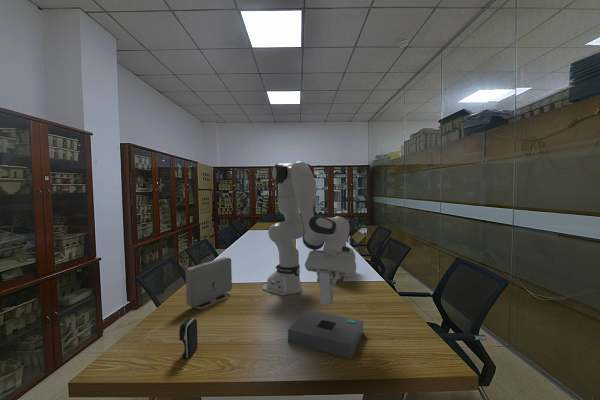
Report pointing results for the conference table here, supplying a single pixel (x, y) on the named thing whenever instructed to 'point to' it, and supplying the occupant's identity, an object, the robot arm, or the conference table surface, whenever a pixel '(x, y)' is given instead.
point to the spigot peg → (326, 287)
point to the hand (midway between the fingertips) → (325, 282)
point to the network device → (208, 282)
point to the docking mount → (327, 333)
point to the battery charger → (189, 337)
